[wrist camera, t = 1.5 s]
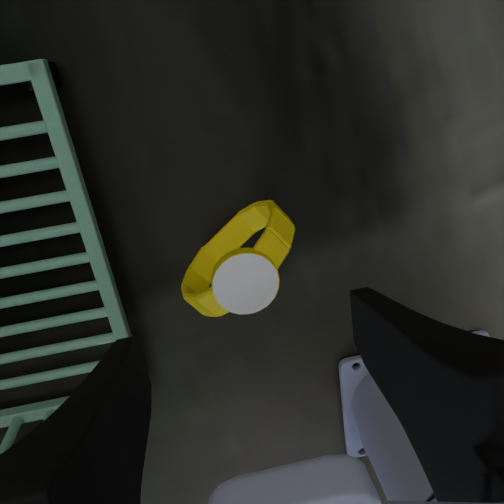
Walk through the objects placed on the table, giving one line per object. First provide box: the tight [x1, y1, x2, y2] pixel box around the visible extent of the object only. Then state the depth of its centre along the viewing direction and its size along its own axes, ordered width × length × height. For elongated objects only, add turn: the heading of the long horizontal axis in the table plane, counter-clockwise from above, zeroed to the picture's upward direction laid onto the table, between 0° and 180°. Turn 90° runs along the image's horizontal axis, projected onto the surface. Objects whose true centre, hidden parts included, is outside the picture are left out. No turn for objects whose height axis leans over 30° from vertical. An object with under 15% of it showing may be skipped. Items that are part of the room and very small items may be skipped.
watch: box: [181, 200, 295, 317], centre depth 21 cm, size 6×3×6 cm, turn 133°
